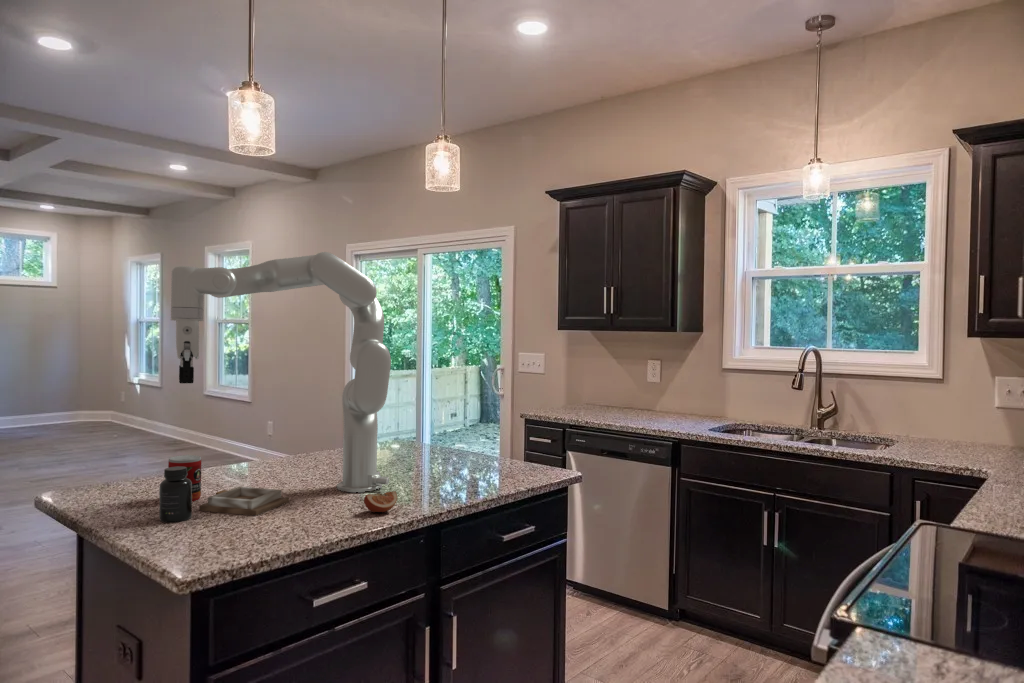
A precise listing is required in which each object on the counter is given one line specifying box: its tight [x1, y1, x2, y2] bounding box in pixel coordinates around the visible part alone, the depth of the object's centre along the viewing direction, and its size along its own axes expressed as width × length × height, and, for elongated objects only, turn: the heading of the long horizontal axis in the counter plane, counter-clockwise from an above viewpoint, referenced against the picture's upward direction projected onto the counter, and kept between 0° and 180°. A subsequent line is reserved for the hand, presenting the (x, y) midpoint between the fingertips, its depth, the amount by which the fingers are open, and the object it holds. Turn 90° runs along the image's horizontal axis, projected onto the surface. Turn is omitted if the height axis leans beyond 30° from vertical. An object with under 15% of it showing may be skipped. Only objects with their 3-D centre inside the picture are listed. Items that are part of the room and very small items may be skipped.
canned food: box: [167, 454, 202, 502], centre depth 174 cm, size 8×8×11 cm
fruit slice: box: [363, 490, 398, 513], centre depth 165 cm, size 8×7×5 cm
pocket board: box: [198, 486, 290, 516], centre depth 169 cm, size 16×14×3 cm
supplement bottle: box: [158, 466, 193, 524], centre depth 156 cm, size 7×7×12 cm
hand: (186, 381), depth 171 cm, fingers open, 9 cm apart
